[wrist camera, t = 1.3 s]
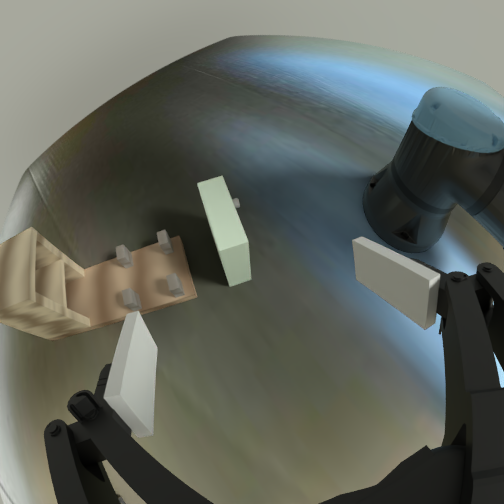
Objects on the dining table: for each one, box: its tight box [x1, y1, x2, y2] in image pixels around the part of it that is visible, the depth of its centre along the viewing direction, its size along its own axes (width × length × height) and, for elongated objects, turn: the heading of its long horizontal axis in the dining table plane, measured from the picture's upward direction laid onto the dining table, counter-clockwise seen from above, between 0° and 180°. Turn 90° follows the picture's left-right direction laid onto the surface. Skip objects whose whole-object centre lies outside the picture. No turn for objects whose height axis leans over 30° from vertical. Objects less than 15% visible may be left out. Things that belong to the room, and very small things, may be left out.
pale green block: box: [197, 176, 251, 286], centre depth 34 cm, size 4×9×11 cm, turn 20°
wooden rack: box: [0, 227, 197, 341], centre depth 30 cm, size 25×9×15 cm, turn 109°
